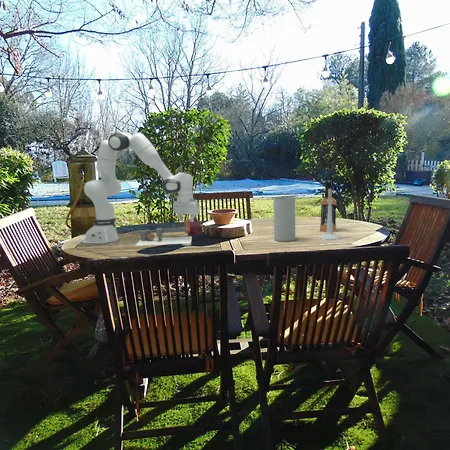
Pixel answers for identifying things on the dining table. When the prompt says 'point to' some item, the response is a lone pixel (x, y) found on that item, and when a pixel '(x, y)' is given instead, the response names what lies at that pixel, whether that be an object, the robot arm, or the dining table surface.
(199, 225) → the vegetable
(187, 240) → the board
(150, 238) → the brown ball
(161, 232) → the lever
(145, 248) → the dining table surface
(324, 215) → the whiskey bottle
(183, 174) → the robot arm
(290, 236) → the cylinder vase
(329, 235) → the candlestick
